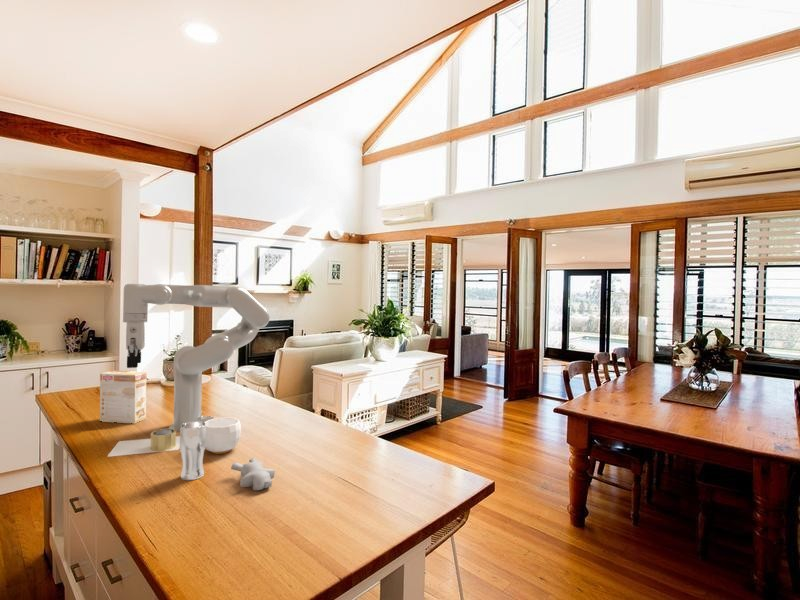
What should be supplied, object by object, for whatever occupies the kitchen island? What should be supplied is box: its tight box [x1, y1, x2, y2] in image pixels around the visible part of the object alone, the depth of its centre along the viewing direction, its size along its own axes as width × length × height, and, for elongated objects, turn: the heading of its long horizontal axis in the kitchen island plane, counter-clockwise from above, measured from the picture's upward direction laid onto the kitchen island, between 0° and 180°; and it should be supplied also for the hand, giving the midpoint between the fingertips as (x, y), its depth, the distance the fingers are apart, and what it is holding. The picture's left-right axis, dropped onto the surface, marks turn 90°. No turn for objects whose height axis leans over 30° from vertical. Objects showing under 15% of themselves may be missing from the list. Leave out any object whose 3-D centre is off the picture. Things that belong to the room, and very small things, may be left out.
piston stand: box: [106, 430, 180, 458], centre depth 143 cm, size 20×14×6 cm
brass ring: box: [150, 427, 177, 452], centre depth 142 cm, size 7×7×5 cm
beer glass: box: [179, 421, 206, 481], centre depth 124 cm, size 7×7×15 cm
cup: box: [205, 416, 242, 455], centre depth 143 cm, size 12×12×10 cm
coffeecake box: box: [99, 370, 147, 424], centre depth 171 cm, size 15×7×20 cm, turn 84°
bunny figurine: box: [230, 457, 275, 492], centre depth 121 cm, size 10×5×15 cm
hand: (134, 365), depth 154 cm, fingers open, 9 cm apart
